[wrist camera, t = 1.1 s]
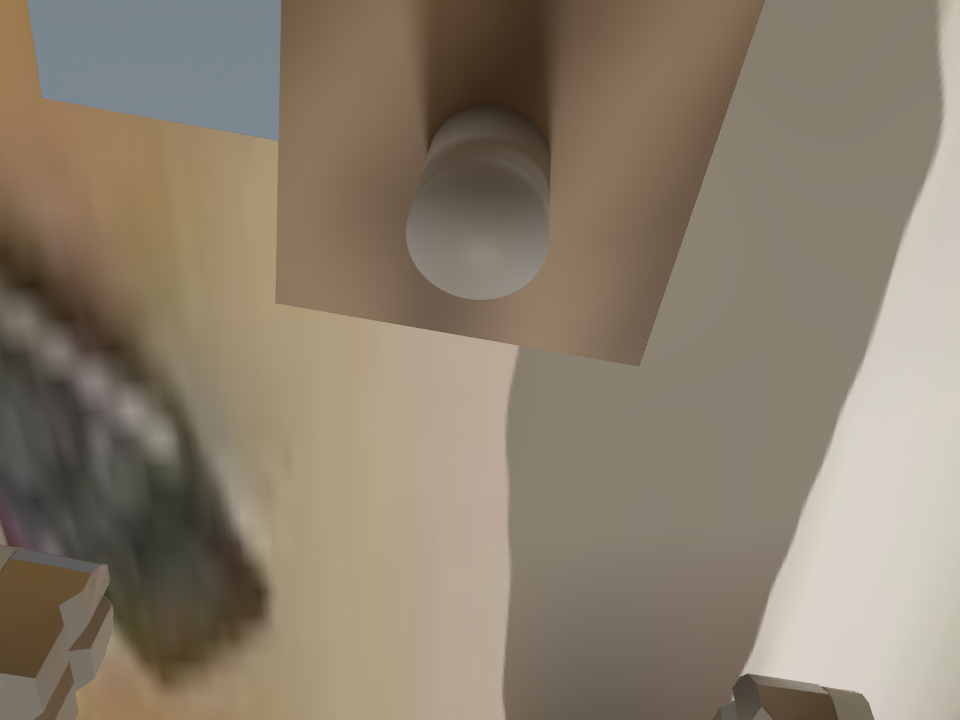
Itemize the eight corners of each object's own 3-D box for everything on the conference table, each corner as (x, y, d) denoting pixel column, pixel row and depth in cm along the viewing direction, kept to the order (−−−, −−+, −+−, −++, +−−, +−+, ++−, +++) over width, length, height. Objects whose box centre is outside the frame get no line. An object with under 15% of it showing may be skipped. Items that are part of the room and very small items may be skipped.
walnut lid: (763, -26, 20) (813, 34, 16) (637, 350, 26) (650, 457, 23) (292, -117, 19) (226, -77, 16) (282, 289, 26) (234, 386, 22)
